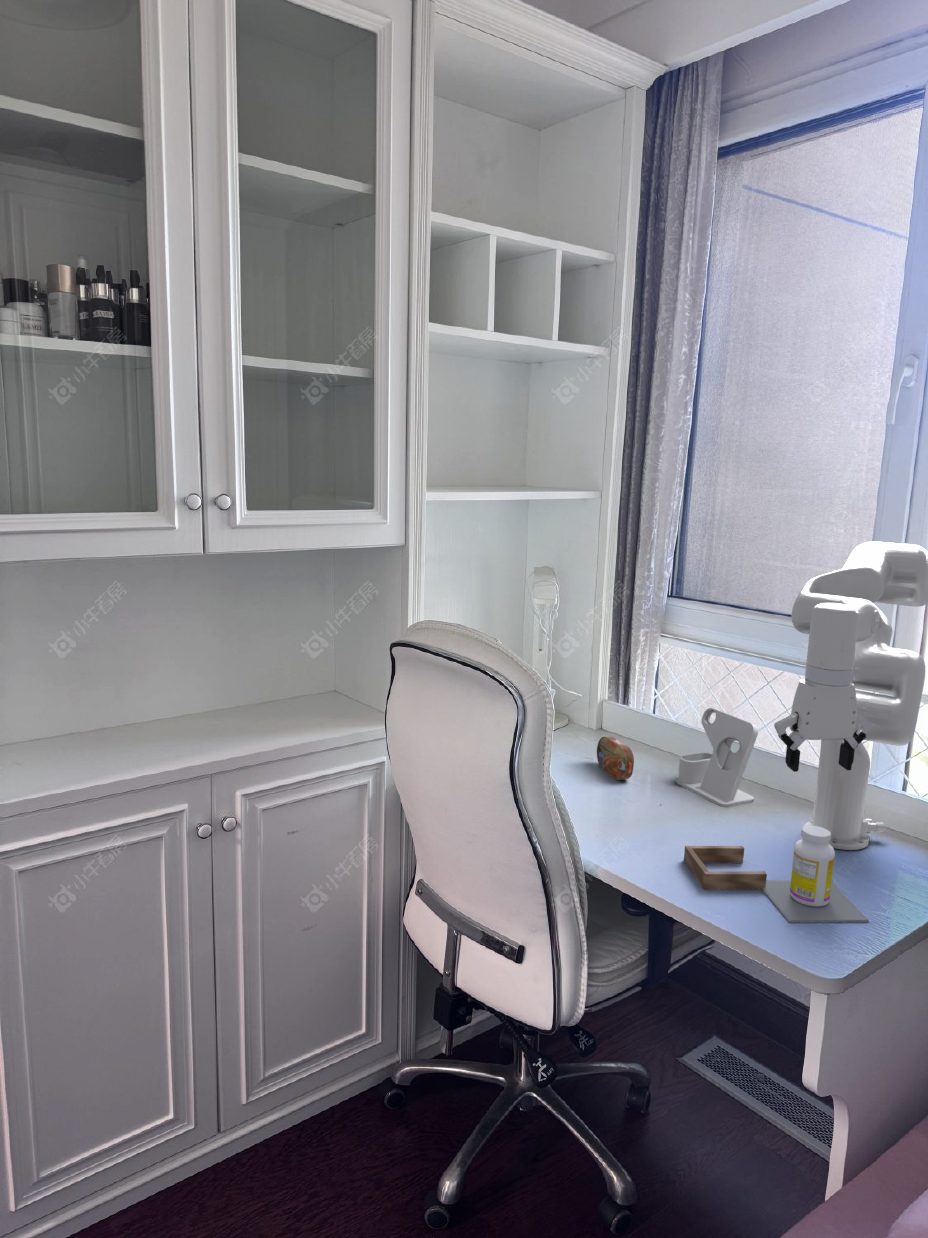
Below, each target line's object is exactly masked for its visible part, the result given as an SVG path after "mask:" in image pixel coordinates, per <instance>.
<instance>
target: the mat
mask: <svg viewBox="0 0 928 1238" xmlns="http://www.w3.org/2000/svg"><path fill="white" fill-rule="evenodd" d="M790 884H791V879H766V887H762V889H761V891H762V892H763V893H764V894H765V895H766V897H767V898H768V899H769V900H770V902H771V903H772V904H773V905H774V907H775V908H776V909H777V910H778V911H779V912H780V913H781V915H782V916H783V917H784V919H785V920H786V921H787V922H788V923H869V922H870V919H869V918H868V917H867V916H866V915H865V914H864V913H863V912H862V911H861V910H860V909H859V908H858V907H857V906H856V905H855V904H854V903H853V902H852V901H851V900H850V899H849V898H848V897H847V896H846V895H845V894H844V893H843V892H842V891H841V890H840V889H838V887H837V886H835V885H834V883H833V882H832V884H831V893H830V901H829V903H828V904H827V905H825V906H820V907H813V906H807V905H804V904H801V903H799V902H797V901H796V900H794V899H793V898H792V897H791V895H790Z"/></svg>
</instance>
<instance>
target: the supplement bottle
mask: <svg viewBox="0 0 928 1238" xmlns="http://www.w3.org/2000/svg"><path fill="white" fill-rule="evenodd" d="M801 837H802V838H801V839H799V840H797V841H796V842H795V844H794V848H793V855H792V856H793V857H792V865H791V876H790V880H791V884H790V895H791V897H792V898H793V899H794V900H796V901H797V902H799V903H801V904H804V905H807V906H813V907H820V906H825V905H827V904H828V903H829V901H830V893H831V884H832V883H833V874H834V867H835V865H834V864H835V856H836V852H835V848H833V847H832V846H831V845H829V841H830V839H831V833H830V831H828V830H827V829H825V828H822V827H818V826H805V827H804V826H803V827H802V828H801Z"/></svg>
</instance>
